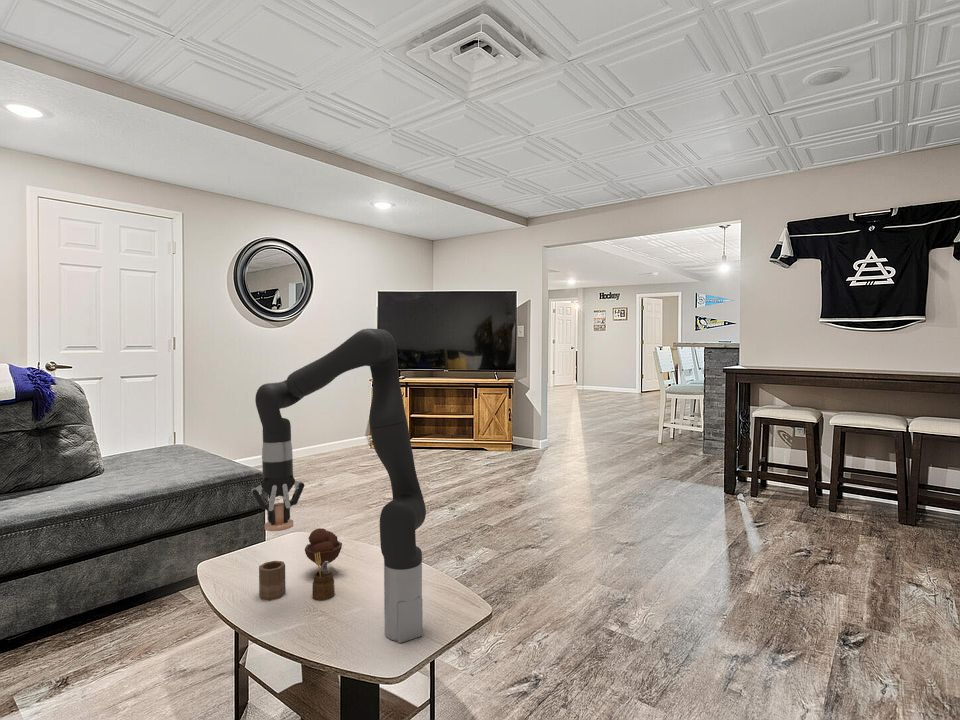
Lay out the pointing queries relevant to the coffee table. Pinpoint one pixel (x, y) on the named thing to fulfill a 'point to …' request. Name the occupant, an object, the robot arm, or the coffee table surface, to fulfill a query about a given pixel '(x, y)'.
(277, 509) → the lid
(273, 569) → the canister
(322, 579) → the utensil holder
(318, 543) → the ice cream bowl
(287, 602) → the coffee table surface
